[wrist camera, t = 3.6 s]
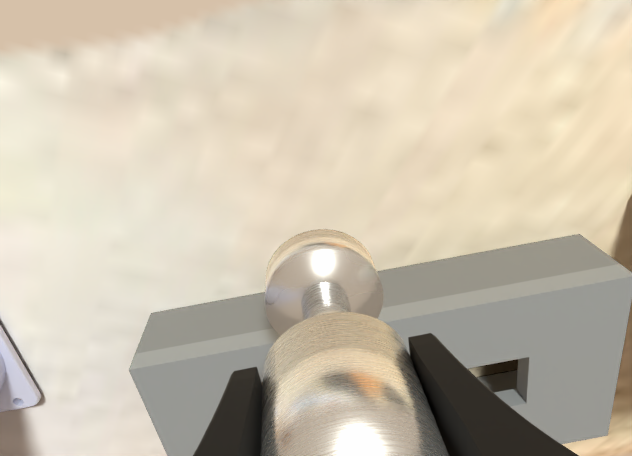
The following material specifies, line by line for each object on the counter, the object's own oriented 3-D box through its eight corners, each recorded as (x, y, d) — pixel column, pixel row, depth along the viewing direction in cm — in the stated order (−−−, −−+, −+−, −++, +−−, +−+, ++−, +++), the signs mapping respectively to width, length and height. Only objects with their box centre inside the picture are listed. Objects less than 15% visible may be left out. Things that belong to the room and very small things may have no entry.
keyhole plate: (203, 447, 27) (193, 513, 24) (151, 313, 23) (128, 369, 19) (563, 379, 28) (607, 435, 24) (579, 234, 23) (636, 275, 20)
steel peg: (277, 331, 18) (281, 606, 10) (254, 241, 16) (234, 483, 8) (380, 312, 18) (470, 570, 10) (368, 219, 16) (467, 440, 8)
